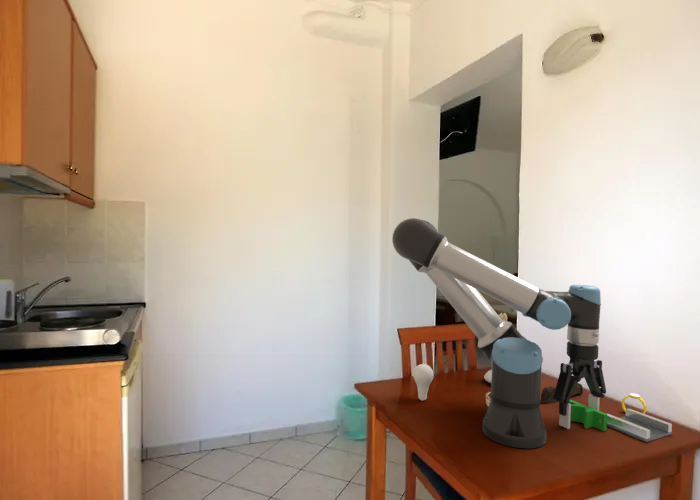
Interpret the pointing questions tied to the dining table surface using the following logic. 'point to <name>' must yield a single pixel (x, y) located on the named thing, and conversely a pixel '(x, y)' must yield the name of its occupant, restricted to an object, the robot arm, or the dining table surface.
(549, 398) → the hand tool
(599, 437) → the dining table surface
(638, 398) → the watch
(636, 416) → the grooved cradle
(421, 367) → the lightbulb
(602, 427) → the pipe clamp
